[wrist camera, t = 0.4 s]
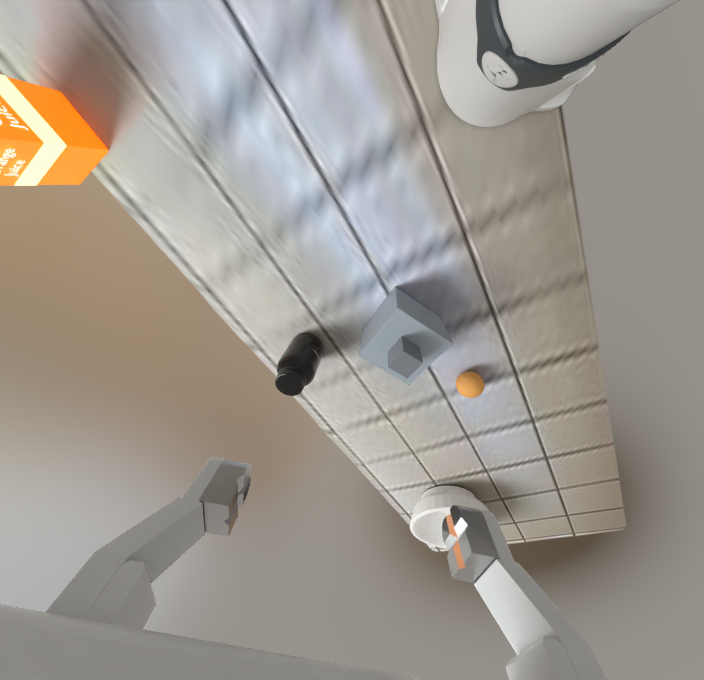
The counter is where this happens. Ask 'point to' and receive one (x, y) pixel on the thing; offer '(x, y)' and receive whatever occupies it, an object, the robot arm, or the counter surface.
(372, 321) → the grey block with knob
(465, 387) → the ball
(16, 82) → the orange juice
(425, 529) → the bowl
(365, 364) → the counter surface
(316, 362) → the supplement bottle
